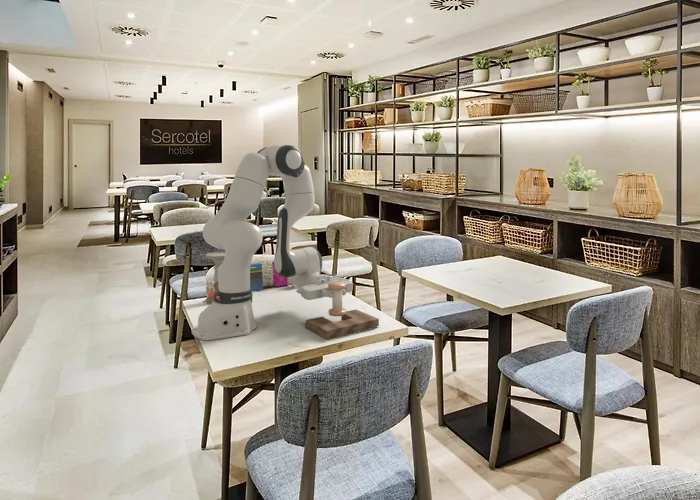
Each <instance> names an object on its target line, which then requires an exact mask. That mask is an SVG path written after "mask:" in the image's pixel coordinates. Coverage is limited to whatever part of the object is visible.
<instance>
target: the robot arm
mask: <svg viewBox="0 0 700 500" xmlns="http://www.w3.org/2000/svg"><path fill="white" fill-rule="evenodd" d="M273 176H275V177H280V178H281V180H282V181H283V184H284V196H285V197H284V198H285V200H284V204H283V207H282V208H281V209H280V210H279V211H278V217H277V224H276V226H277V227H276V243H275V244H276V245H275V247H276V248H275V254H274V260H273V261H274V268H275V271H276V272H277V273H278V274H279V275H280V276H282V277H284V278H287V279H288V278H290V282H291V284H292V285H293V286H294V287H295V289H296V293H297V294H300V296H301V298H303V299H304V300H308V301H313V300H317V299H323V298H330V299H332V297H334V292H332V289H329V288H328V284H329V283H332V282H343V283H346V288H345V289H342V296H345V295H347V293H352V292H353V290H354V286H353V285H354V283H353V281H352V280H349V279H346V278H345V277H341V276H340V275H338V274H323V273H322V269H323V257H322V254H321V253H320V251H319V250H318V249H317V248H315V247H313V246H307V247H300V248H296V249H290V247H291V230H292V229H293V226H294V225H295V224H296V223H297V222H298V221H299V220H301V219H303V218H305V217H306V216H308V215H309V214H310V213H311V211H313V209H314V208H315V202H316V199H315V187H314V182H313V178H312V177H313V176H312V174H311V170H310V167H308V166H307V165H306V164H305V160H304V157H303V154H302V152H301V150H300V149H299V148H298V147H296V146H294V145H290V144H284V145H278V144H277V145H272V146H268V147H263V148H261V149H259V151H257V152H248V153H247V154H245V155H244V156H243V158H242V160H241V161H240V163H239V165H238V167H237V169H236V171H235V173H234V177H233V178H232V179H233V180H232V182H231V185H230V188H229V191H228V194H227V197H226V199H225V200H224V203H223V204H222V206H221V207H220V209H218V211H217V213H216V214H215V215H213V217H212V218H211V219H210V220H208V221H207V222H206V223H205V224H204V226H203V228H202V237H203V239H204V241H205V243H207V244H208V245H210V246H211V247H214V248H216V249H219V250H223V251H224V252H225V258H224V262H223V264H221V265H220V266H219V268H218V288H219V289H218V291H217V292H216V293H215V291H213V290H211V291H209V292H208V297H209V296H211V297H214V302H213V303H211V304H208V306H207V307H205V308H204V309H203V311H201V312H200V313H199V314H198V315H199V316H198V319H197V325H196V326H192V328H191V334H192V335H193V337H195V338H196V339H199V340H201V341H211V340H212V341H213V340H220V339H227V338H232V337H233V338H234V337H238V336H240V337H241V336H245V335H250V333H251V332H252V331H254V330H255V329H256V328H257V322H256V319H255V316H254V310H253V306H252V305H253V304H252V303H253V291H252V288H251V287H250V269H251V267H250V265H252V260H253V258H254V256H255V255H254V254H255V253H256V252H257V251H258V250H259V249H260V247H261V246H262V245H263V244H262V243H263V238H264V237H263V232H262V230H261V228H260V227H259V226H257V225H256V224H253V222H250V221H247V219H248V218H249V216H250V215H252V214H254V213H255V212H256V210H258V208H259V206H260V203H261V200H262V196H263V195H264V194H263V193H264V191H265V188H266V184H267V180H268V179H269V177H273ZM321 273H322V274H321Z"/></svg>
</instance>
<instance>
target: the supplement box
mask: <svg viewBox="0 0 700 500" xmlns="http://www.w3.org/2000/svg"><path fill="white" fill-rule="evenodd" d="M271 271H272V272H271V273H272V274H271V275H272V285H273V286H275V288H284V287H289V286H288V285H289V284H288V281H289V280H288V278H284V277H282V276H280V275H279V274H278V273H277V272H276V271H275V268H274V260H273V261H271Z"/></svg>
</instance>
